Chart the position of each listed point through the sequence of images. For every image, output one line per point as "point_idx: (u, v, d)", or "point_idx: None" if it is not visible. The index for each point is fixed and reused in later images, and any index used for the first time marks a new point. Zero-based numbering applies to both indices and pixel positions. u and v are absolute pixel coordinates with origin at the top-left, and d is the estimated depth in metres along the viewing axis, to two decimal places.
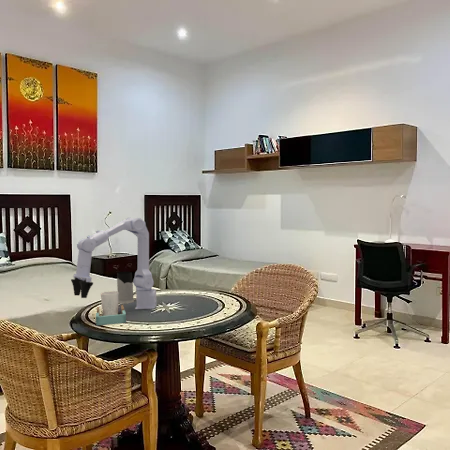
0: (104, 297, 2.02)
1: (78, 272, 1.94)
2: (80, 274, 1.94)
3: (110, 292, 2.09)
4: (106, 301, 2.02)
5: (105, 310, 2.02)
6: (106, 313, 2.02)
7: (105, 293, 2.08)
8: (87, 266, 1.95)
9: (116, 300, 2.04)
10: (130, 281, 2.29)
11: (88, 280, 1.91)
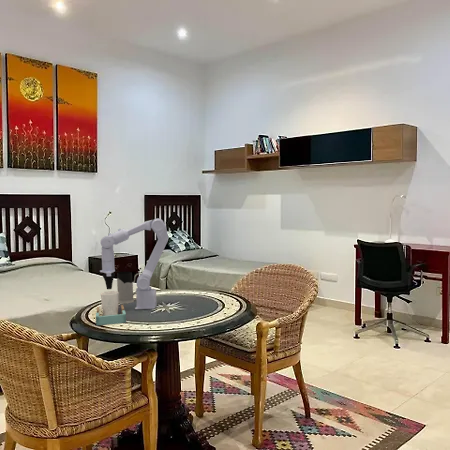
0: (104, 297, 2.02)
1: (102, 267, 2.11)
2: (104, 269, 2.11)
3: (110, 292, 2.09)
4: (106, 301, 2.02)
5: (105, 310, 2.02)
6: (106, 313, 2.02)
7: (105, 293, 2.08)
8: (109, 261, 2.11)
9: (116, 300, 2.04)
10: (130, 281, 2.29)
11: (108, 275, 2.06)
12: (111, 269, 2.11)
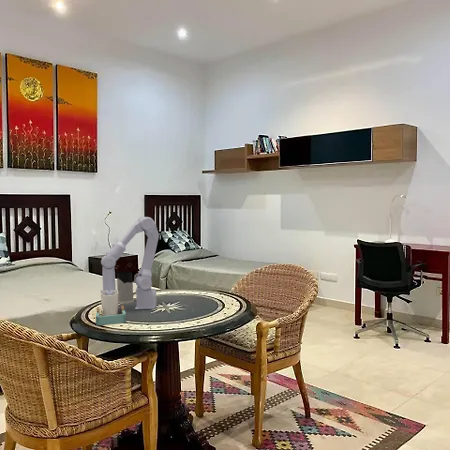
0: (104, 298, 2.01)
1: (103, 288, 2.08)
2: (105, 289, 2.08)
3: None
4: (106, 301, 2.01)
5: (105, 310, 2.02)
6: (106, 313, 2.02)
7: None
8: (110, 281, 2.07)
9: (116, 300, 2.03)
10: (130, 281, 2.29)
11: None
12: (112, 289, 2.08)
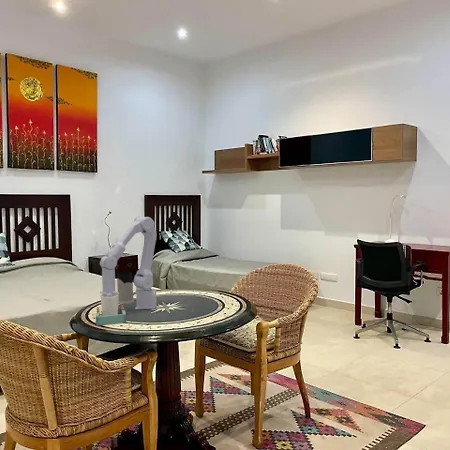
0: (105, 299, 1.97)
1: (103, 289, 2.04)
2: (104, 291, 2.03)
3: None
4: (106, 303, 1.97)
5: (105, 312, 1.99)
6: (106, 314, 1.99)
7: None
8: (109, 283, 2.03)
9: (116, 302, 2.00)
10: (130, 281, 2.29)
11: None
12: (112, 291, 2.04)
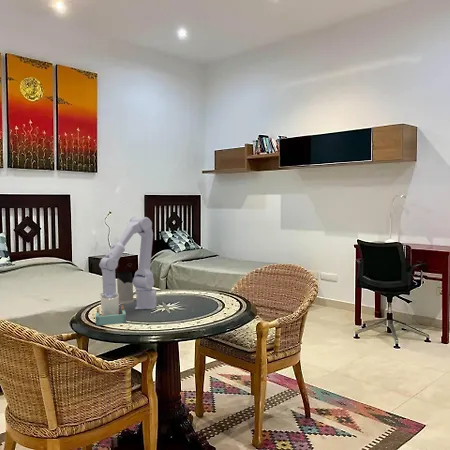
0: (104, 301, 1.93)
1: (103, 291, 2.00)
2: (105, 292, 2.00)
3: None
4: (106, 305, 1.94)
5: (105, 314, 1.95)
6: None
7: None
8: (110, 284, 1.99)
9: (116, 304, 1.96)
10: (130, 281, 2.29)
11: None
12: (112, 292, 2.00)
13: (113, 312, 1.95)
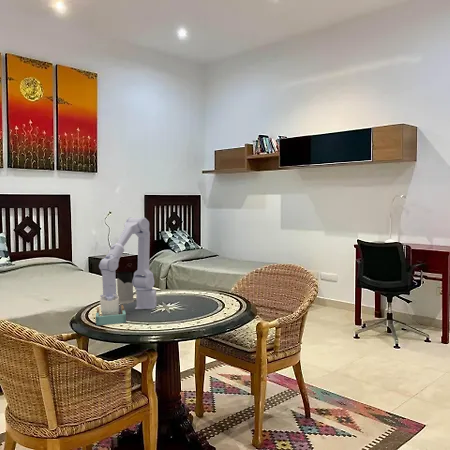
0: (104, 303, 1.90)
1: (103, 292, 1.97)
2: (105, 294, 1.96)
3: None
4: (105, 307, 1.90)
5: None
6: None
7: None
8: (110, 286, 1.96)
9: (116, 306, 1.92)
10: (130, 281, 2.29)
11: None
12: (112, 294, 1.96)
13: (113, 314, 1.92)
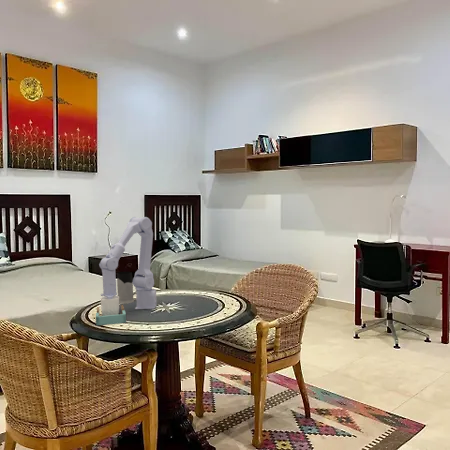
0: (104, 302, 1.91)
1: (104, 291, 2.00)
2: (105, 293, 2.00)
3: None
4: (105, 306, 1.91)
5: None
6: None
7: (105, 298, 1.97)
8: (110, 284, 1.99)
9: (116, 305, 1.93)
10: (130, 281, 2.29)
11: None
12: (113, 293, 2.00)
13: (113, 314, 1.92)
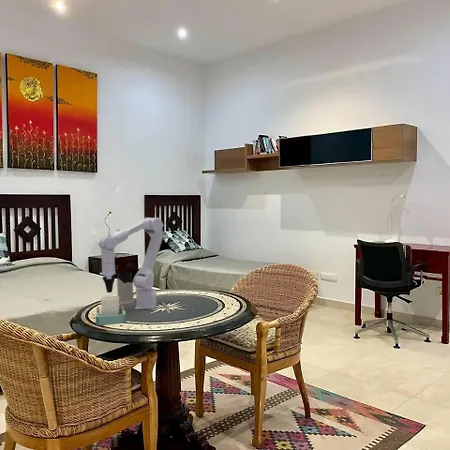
0: (104, 302, 1.91)
1: (102, 270, 2.02)
2: (104, 271, 2.01)
3: (111, 297, 1.98)
4: (105, 306, 1.91)
5: None
6: None
7: (105, 298, 1.97)
8: (109, 263, 2.01)
9: (116, 305, 1.93)
10: (130, 281, 2.29)
11: (108, 277, 1.97)
12: (111, 271, 2.02)
13: (113, 314, 1.92)
